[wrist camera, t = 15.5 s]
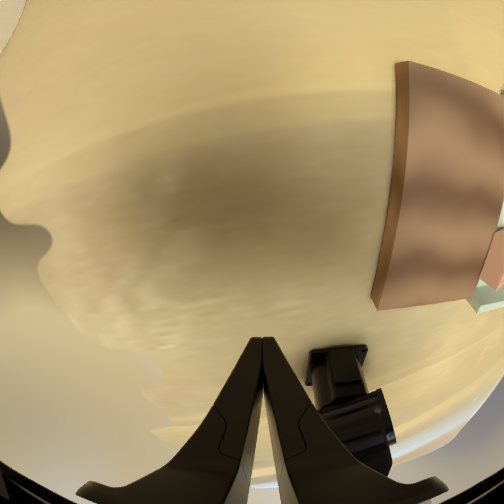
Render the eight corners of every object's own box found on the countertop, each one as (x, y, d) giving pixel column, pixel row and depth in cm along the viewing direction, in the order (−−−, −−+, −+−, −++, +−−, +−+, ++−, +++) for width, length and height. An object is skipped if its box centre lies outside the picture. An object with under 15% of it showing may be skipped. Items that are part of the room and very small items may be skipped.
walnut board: (463, 286, 24) (471, 297, 22) (370, 296, 24) (377, 310, 22) (499, 99, 14) (514, 101, 12) (395, 63, 14) (408, 60, 12)
